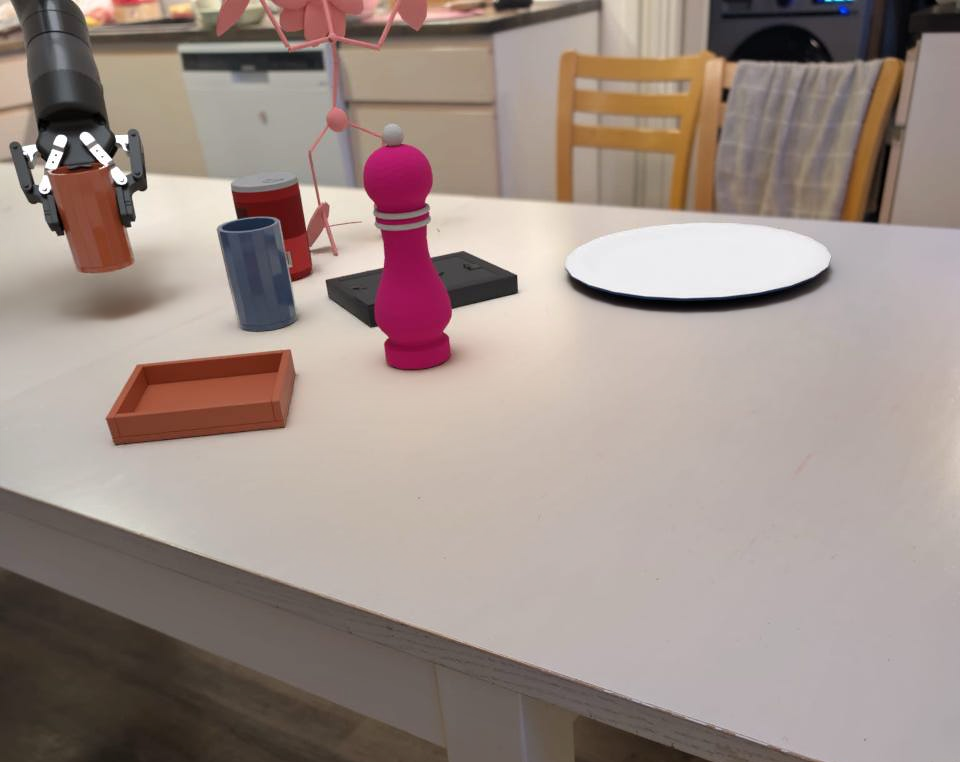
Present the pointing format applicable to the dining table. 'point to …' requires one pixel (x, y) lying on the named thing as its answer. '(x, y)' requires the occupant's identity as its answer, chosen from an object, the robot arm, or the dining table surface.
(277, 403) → the tray
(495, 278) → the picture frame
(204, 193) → the dining table surface
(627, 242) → the plate
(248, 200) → the canned food
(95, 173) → the terracotta cup
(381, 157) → the pepper mill
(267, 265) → the blue cup
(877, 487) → the dining table surface
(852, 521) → the dining table surface
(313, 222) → the figurine
